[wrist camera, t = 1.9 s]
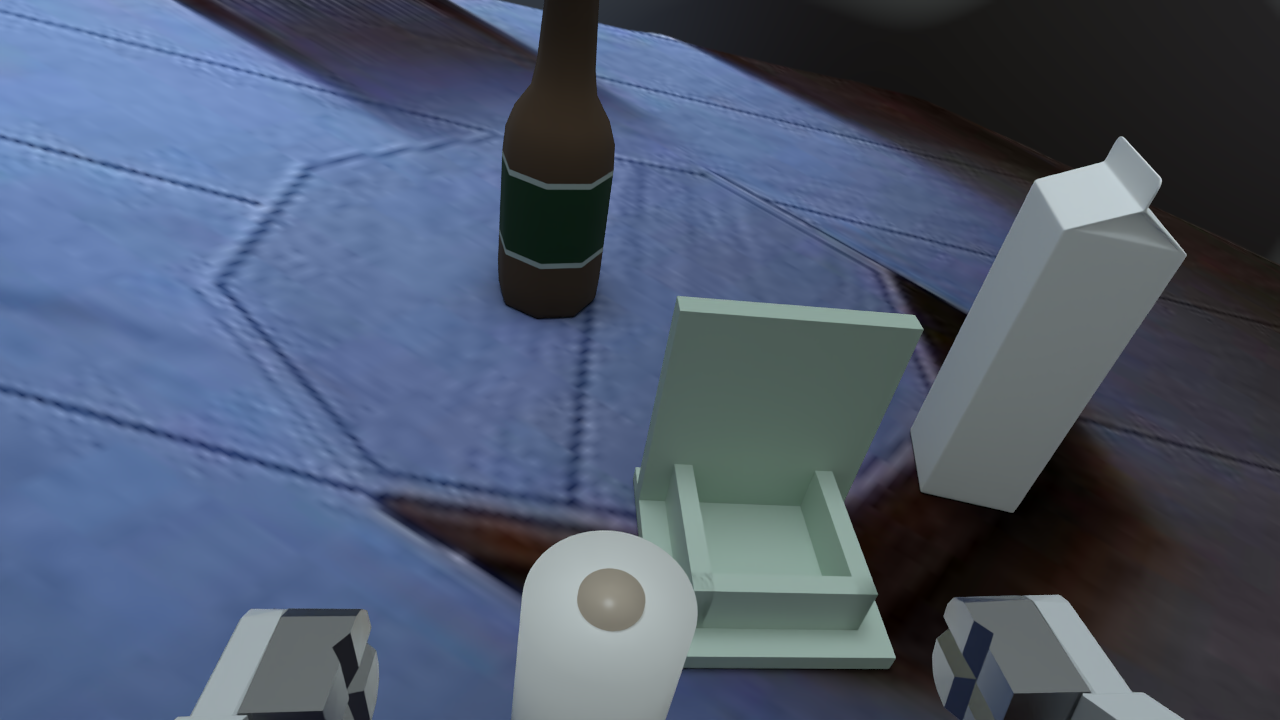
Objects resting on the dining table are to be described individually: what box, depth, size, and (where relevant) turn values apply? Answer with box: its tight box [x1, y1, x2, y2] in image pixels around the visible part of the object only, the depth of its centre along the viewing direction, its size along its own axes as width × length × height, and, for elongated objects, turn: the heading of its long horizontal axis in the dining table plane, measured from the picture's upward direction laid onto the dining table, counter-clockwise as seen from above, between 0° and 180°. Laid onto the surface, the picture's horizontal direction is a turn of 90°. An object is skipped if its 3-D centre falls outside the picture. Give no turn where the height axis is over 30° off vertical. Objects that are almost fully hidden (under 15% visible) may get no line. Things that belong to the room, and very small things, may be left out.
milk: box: [910, 137, 1187, 513], centre depth 44 cm, size 6×6×22 cm
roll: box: [511, 531, 698, 720], centre depth 27 cm, size 5×5×14 cm
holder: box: [633, 296, 924, 669], centre depth 38 cm, size 12×12×14 cm
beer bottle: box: [498, 0, 615, 318], centre depth 53 cm, size 8×8×24 cm
